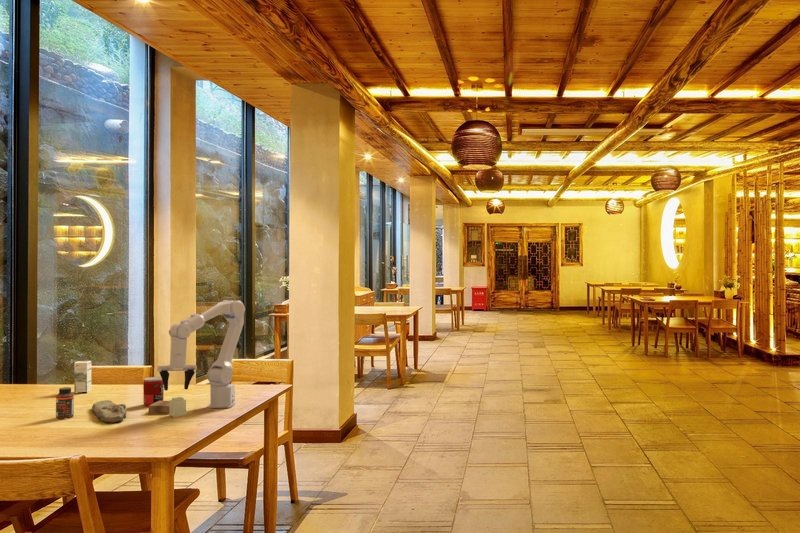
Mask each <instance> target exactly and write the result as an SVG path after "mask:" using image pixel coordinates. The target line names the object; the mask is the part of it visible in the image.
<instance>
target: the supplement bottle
mask: <svg viewBox="0 0 800 533" xmlns="http://www.w3.org/2000/svg"><path fill="white" fill-rule="evenodd" d="M74 395H75V393H73V392H72V388H71V387H68V386H67V387H60V388H59V389H58V393H57V394H56V396H55V418H56V419H58V420H66V419H65V418H68V419H71V418H73V417H74V413H75V412H74V409H75V408H74V405H75V404H74V402H75V400H74V399H75V396H74Z"/></svg>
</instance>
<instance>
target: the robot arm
mask: <svg viewBox="0 0 800 533" xmlns="http://www.w3.org/2000/svg"><path fill="white" fill-rule="evenodd" d="M245 311H246V307H245V305H244V303H243V302H242V301H241V300H228V299H224V300H222V301H220V302H217V304H214V305H213V306H212V307H210V308H209V309H208V310H205V311H203V312H202V313H201V314H198V313H192V314H190V316H189V317H187V318H185V319H182V320H180V321H179V323H178V322H177V323H174V324H172V325H171V327H170V328H169V330H168V334H169V336H170V341H171V343H170V356H169V357H170V359H169V365H157V366H156V367H157V370H156V371H157V372H158V373H159V375H160V377H161V378H162V381H163V384H164V391H169V378H170V372H175V371H176V372H181V371H182V372H183V371H184V385H183V388H184V390H189V386H190V382H191V380H192V379H193V376H194V375H195V372H196V371H197V369H198V365H197V364H186V361H187V345H188V338H190V336H191V334H192V333H193V332H195V331H198V330H199V329H200V328H201V329H202V327H204V326H205V323H206V322H207V321H209V320H211V319H213V318H215V317H217V316H219V315H222V316H223V317H224V318H225V319H226V321H227V322H228V323H229V325H228V328H227V331H226V334H225V337H224V340H223V343H222V346H221V348H220V352H219V354H218V357H217V360H215V361H214V362H212V364H211V367H210V368H209V369H208V371H207V373H206V380H207V381H208V382H209V385H210V395H209V396H210V401H209V402H210V403H209V404H208V405H207V406H206V408H207V409H208V408H209V409H211V408H212V409H217V408H218V409H219V408H220V409H224V408H225V409H226V408H227V409H229V408H232V407H233V406H234V405H236V394H235V393H236V389H235V387H236V386H235V384H230V383H231V381H232V378H233V370H234V367H233V365H232V363H231V362H232V360H233V356H234V354H235V352H236V348H237V346H238V342H239V340H240V337H241V336H240V335H241V332H242V331H243V326H244V324H245V317H244V316H245V315H244V314H245Z"/></svg>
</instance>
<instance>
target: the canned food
mask: <svg viewBox="0 0 800 533" xmlns="http://www.w3.org/2000/svg"><path fill="white" fill-rule="evenodd" d="M142 386H143V406H145V407H149V405H151V404H153V403H155V402H158V401H164V391H165V390H164V384H163V381H162V378H161V376H150V377H144V378H143V384H142Z"/></svg>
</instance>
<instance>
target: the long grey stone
mask: <svg viewBox="0 0 800 533" xmlns="http://www.w3.org/2000/svg"><path fill="white" fill-rule="evenodd" d="M126 407H127V405H126V404H125V403H121V404H120V403H119V404H116V403H115V402H113V401H112V400H108V399H105V400H100V401H96V402H94V403H93V404H92V407H91V408H92V410H91V411H92V412H93V413H94V415H95V416H96V417H97V418H98V419H99V420H101V421H102V422H103V423H117V422H123V420H125V419H126V417H127V414H128V413H127V410H126Z"/></svg>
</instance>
